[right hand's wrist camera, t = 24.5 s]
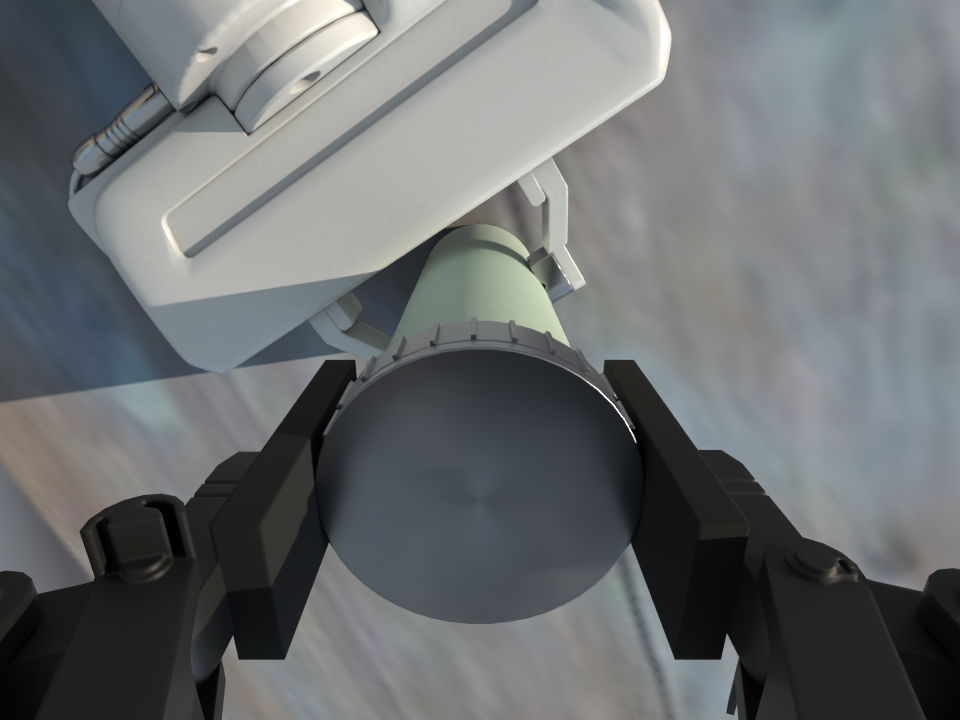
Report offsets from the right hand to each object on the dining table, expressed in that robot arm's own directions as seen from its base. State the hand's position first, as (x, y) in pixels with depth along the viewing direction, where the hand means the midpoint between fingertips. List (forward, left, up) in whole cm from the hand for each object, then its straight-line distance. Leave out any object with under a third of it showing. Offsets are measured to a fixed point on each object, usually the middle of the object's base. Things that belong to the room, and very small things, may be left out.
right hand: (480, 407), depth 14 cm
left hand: (0, -1, -8) cm, 8 cm away
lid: (0, 0, +4) cm, 4 cm away
